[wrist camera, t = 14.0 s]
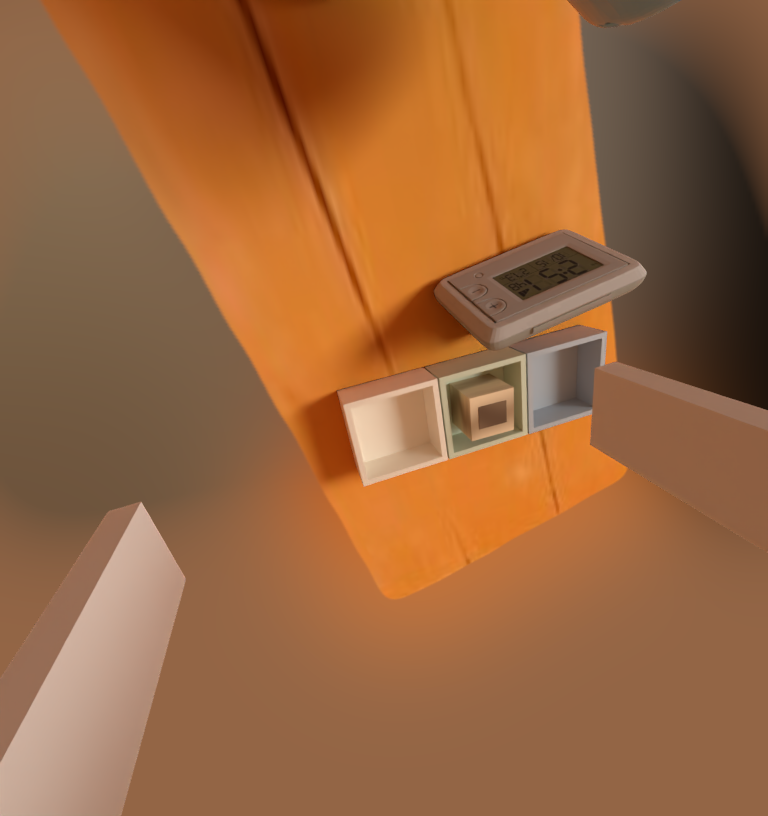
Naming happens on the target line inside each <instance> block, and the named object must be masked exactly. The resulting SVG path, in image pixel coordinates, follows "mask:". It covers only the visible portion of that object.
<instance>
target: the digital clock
mask: <svg viewBox="0 0 768 816" xmlns="http://www.w3.org/2000/svg"><path fill="white" fill-rule="evenodd" d="M646 274H647V273H646V270H645V269H644V268H643V267H642V265H641V264H640V263H639V262H637V261H636V260H634V259H632V258H630V257H628V256H626V255H623V254H621V253H619V252H617V251H614V250H612V249H610V248H608V247H606V246H603V245H601V244H599V243H597V242H594V241H592V240H590V239H588V238H586V237H583V236H581V235H579V234H577V233H574V232H572V231H569V230H559V231H556V232H553V233H551V234H548V235H546V236H544V237H541V238H539V239H536V240H534V241H532V242H529V243H527V244H524V245H522V246H520V247H517V248H515V249H513V250H510V251H508V252H505V253H503V254H501V255H498V256H496V257H494V258H491V259H489V260H486V261H484V262H482V263H479V264H477V265H474V266H472V267H470V268H467V269H465V270H463V271H460V272H458V273H456V274H453V275H451V276H449V277H447V278H444V279H443V280H441V281H440V282H439V284H438V285H437V286H436V288H435V289H434V295H435V298H436V299H437V301H438V302H439V303H440V304H441V305H442V306H443V307H444V308H445V309H446V310H447V311H448V312H449V313H450V314H451V315H452V316H453V317H454V318H455V319H456V320H457V321H458V322H459V323H460V324H461V325H462V326H463V327H464V328H465V329H467V330H468V331H469V332H470V333H471V334H472V335H473V336H474V337H475V338H476V339H477V340H478V341H479V342H480V343H481V344H482V345H483V346H485V347H486V348H487V349H489V350H492V351H497V350H500V349H503V348H506V347H508V346H510V345H513V344H515V343H517V342H520V341H522V340H524V339H526V338H529V337H531V336H533V335H535V334H538V333H540V332H542V331H544V330H547V329H549V328H551V327H553V326H556V325H558V324H560V323H562V322H564V321H567V320H569V319H571V318H573V317H576V316H578V315H580V314H582V313H585V312H587V311H589V310H591V309H594V308H596V307H598V306H600V305H602V304H605V303H607V302H609V301H611V300H613V299H616V298H617V297H620V296H622V295H624V294H626V293H628V292H630V291H632V290H633V289H634V288H636V287H637V286H638V285H640V284H641V283H642V281H643V280H644V278H645V276H646Z"/></svg>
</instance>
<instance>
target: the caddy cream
mask: <svg viewBox="0 0 768 816" xmlns="http://www.w3.org/2000/svg"><path fill="white" fill-rule="evenodd" d="M337 394H338V398H339V401H340V405H341V409H342V413H343V417H344V421H345V425H346V429H347V432H348V436H349V440H350V444H351V448H352V452H353V456H354V460H355V463H356V467H357V470H358V472H359V475H360V478H361V480H362V483H363V486H367V485H370V484H373V483H376V482H379V481H383V480H386V479H389V478H392V477H395V476H398V475H401V474H405V473H408V472H411V471H414V470H417V469H420V468H424V467H427V466H430V465H433V464H436V463H439V462H442V461H446V460H448V456H447V448H446V441H445V433H444V426H443V418H442V410H441V403H440V395H439V388H438V380H437V378H436V377H434V376H433V375H432V374H431V373H429V372H428V371H427V370H426V369H424V368H423V367H422V368H418V369H415V370H411V371H407V372H403V373H400V374H396V375H392V376H389V377H385V378H381V379H378V380H374V381H370V382H367V383H363V384H359V385H356V386H352V387H348V388H344V389H341V390H337Z"/></svg>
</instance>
